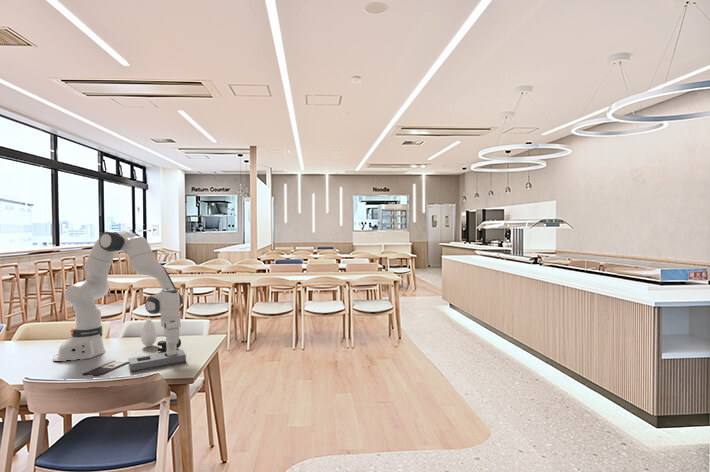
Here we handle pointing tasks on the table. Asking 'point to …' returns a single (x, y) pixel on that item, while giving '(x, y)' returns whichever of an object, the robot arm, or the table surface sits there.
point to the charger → (170, 350)
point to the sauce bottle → (148, 333)
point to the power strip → (156, 361)
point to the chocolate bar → (106, 368)
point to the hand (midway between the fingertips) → (171, 349)
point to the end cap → (163, 344)
